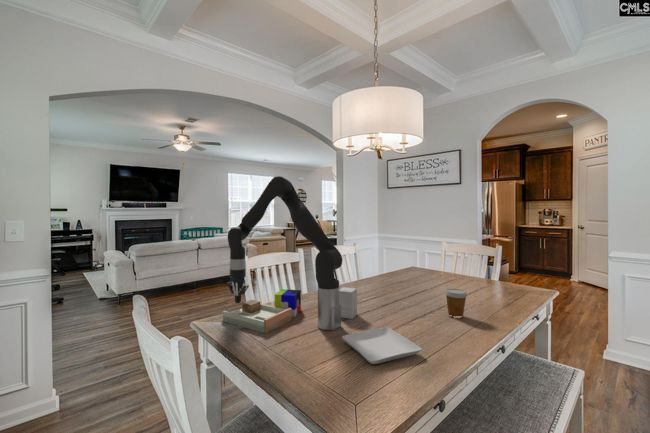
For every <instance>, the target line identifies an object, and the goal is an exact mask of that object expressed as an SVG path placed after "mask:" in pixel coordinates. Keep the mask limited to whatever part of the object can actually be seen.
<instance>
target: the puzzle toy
mask: <svg viewBox="0 0 650 433" xmlns="http://www.w3.org/2000/svg"><path fill="white" fill-rule="evenodd" d="M301 294H302V293H301V290H300V289H287V288H285V289H283V288H282V289H280V290H279V291H277V292H276V293H275V294H274V307H278V308H282V309H288V308H292V317H293V318H295V317H296V316H297V315H298V314H299V313H300V311H302V309H301V308H302V307H301V306H302V302H301V301H302V298H301V297H302V295H301Z"/></svg>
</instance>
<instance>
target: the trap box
mask: <svg viewBox="0 0 650 433" xmlns="http://www.w3.org/2000/svg"><path fill="white" fill-rule="evenodd" d="M292 320H293V318H292V308H288V309H282V308H278V307H275V306H272V305H268V304H263V303H260V310H259V311H256V312H254V313H247V312H243V311H242V308H240V309H237V310H234V311H227V310H223V311H222V322H225V323H228V324H232V325H235V326H239V327H242V328H244V329H250V330H253V331H257V332H260V333H262V334H267V333H270V332H272V331H273V330H276V329H277V328H280V327H282V326H283V325H286V324H287V323H289V322H291V321H292Z"/></svg>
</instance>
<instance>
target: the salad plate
mask: <svg viewBox="0 0 650 433" xmlns="http://www.w3.org/2000/svg"><path fill="white" fill-rule="evenodd" d="M341 337H342V340H343V341H344V342H345V343H346V344H347V345H348V346H350V347H351V348H353V349H354V350H355V351H356V352H358V354H360V356H362V357H363V358H364V359H365V360H366V361H367V362H368V363H369V364H371V365H378V364H382V363H385V362H390V361H394V360H398V359H402V358H406V357H410V356H414V355H416V354H419V353H420V352H421V351H422V347H420V346H419V345H418V344H416V343H414V342H412V341H411V340H409V339H408V338H407V337H405V336H403V335H401V334H399V332H397V331H395V330H393V329H391V328H390V327H388V326H386V327H380V328H374V329H370V330H364V331H360V332H355V333H350V334H346V335H342V336H341Z"/></svg>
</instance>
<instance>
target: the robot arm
mask: <svg viewBox="0 0 650 433" xmlns="http://www.w3.org/2000/svg"><path fill="white" fill-rule="evenodd" d="M277 197H278V198H280V200H282V202H283V203H284V204H285V205H286V207H287V209H288V211H289V216H290V218H291V222H292V223H293V224H294V226H295V227H296V230H297V231H298V233H299V234H300V235H301V236H302V237H303V238H305V239H306V240H308V241H309V242H310V243H312V245H314V246H315V248H316V249H317V250H318V251H319V252H318V253H317V254H316V257H315V260H314V261H315V262H314V266H315V267H314V268H315V280H316V283H317V327H318V328H319V329H320V330H323V331H336V330H337V329H339V328H340V327H342V317H341V304H339V290H340V280H339V279H337V278H336V277H335V270H337V269H339V268H341V267H342V265H343V257H342V256H343V255H342V254H341V252H340V251H339V249H338V248H337V247H336V246H335V244H333V242H332V241H331V240H330V239H329V237H328V236H327V235H326V233H325V232H324V230H323V229H322V228H321V226H320V225H319V224H318V222H317V220H316V219H315V217H314V215H313V214H312V213H311V211H310V210H309V209H308V207H307V206H306V204H304V202H303V201H302V199H301V198H300V197H299V195H298V193H297V191H296V189H295V187H294V185H293V183H292V182H291V181H290V180H288V179H287V178H285V177H283V176H280V175H277V176H274V177H273V178H271V180H270V181H269V182H268V184H267V185H266V187H265V188H264V190H263V192H262V193H261V194H260V196H259V197H258V199H257V201H256V202H255V203H254V205H253V206H252V207H251V208H250V209H249V210H248V212H246V214H245V215H244V216H243V217H242V218H241V222H240V223H239V225H238V226H236V227H231V228H230V229H229V230H228V233H227V242H228V246H229V254H230V255H229V258H230V259H229V278H230V281H229V282H227V283H226V285H227V286H228V289H229V291H230V292H231V294H233V295H234V303H236V304H240V303H242V295H245V293H246V292H247V290H248V288H250V286H249V284H247V283H246V280H245V278H246V276H247V275H246V274H247V271H246V269H247V268H246V267H247V266H246V265H247V264H246V263H247V262H246V248H245V247H244V245H243V242H242V241H244V240H245V239H246V238H247V237H248V236H249V235H250V234H251V232H252V230H253V229H254V228H255V227H256V225H258V224H259V223H260V221H261V220H262V219H263V218H264V216H265V214H266V211H267V209H268V207H269V206H270V204H271V202H272V201H273V200H274V199H275V198H277Z"/></svg>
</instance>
